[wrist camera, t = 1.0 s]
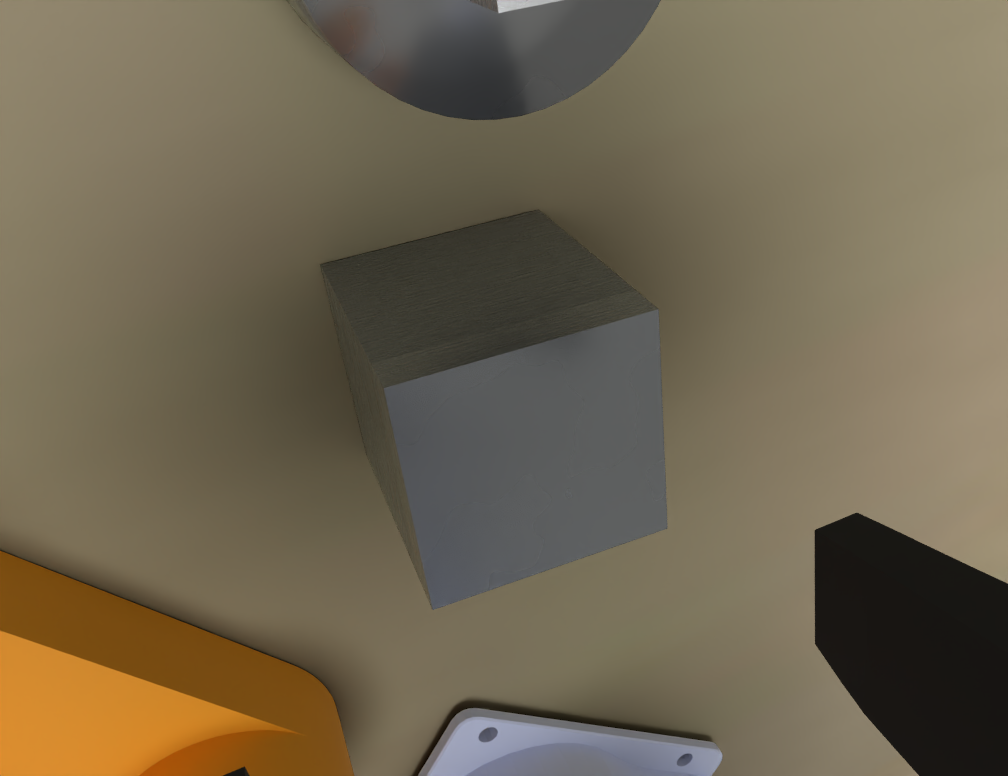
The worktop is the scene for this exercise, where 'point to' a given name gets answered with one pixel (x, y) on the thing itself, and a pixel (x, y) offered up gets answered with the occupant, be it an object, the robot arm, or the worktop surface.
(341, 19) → the ratchet
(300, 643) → the worktop surface
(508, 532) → the grey brushed cube
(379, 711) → the worktop surface
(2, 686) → the bracket
